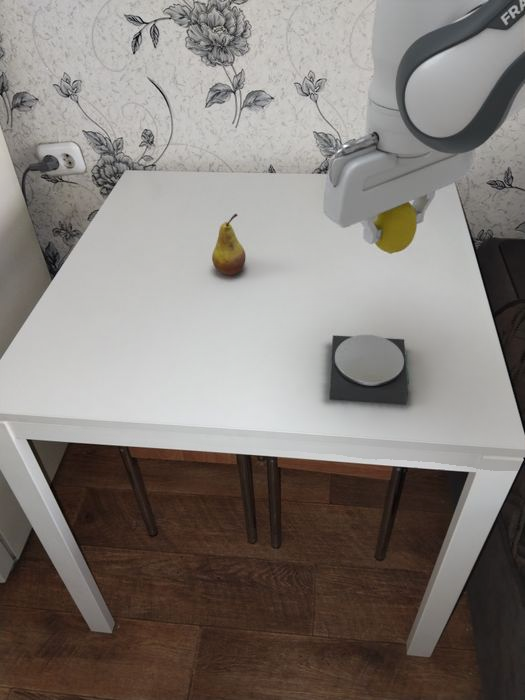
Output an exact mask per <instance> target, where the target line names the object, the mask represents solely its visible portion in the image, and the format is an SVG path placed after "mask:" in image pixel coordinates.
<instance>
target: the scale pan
mask: <svg viewBox="0 0 525 700" xmlns="http://www.w3.org/2000/svg"><path fill="white" fill-rule="evenodd" d="M385 338H386V337H382V336H379V335H374V334H360V335H355V336H353V337H351V338H349V339H347V340H345V341H343V342H342V343H341V344H340V345H339V346H338V348H337V350H336V352H335V365H336V367H337V369H338V371H339V372H340V373H341V374H342V375H343V376H344V377H345V378H347V379H348V380H350V381H352V382H354V383H357V384H360V385H366V386H379V385H384V384H387V383H389V382H391V381H393V380H395V379H396V378H397V377H398V376H399V375H400V373H401V372H402V370H403V365H404V358H403V355H402V352H401V351H400V349H399V348H398V347H397V346H396V345H395V344H394V343H392V342H391V341H389V340H387V339H385Z"/></svg>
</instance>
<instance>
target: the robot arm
mask: <svg viewBox="0 0 525 700" xmlns="http://www.w3.org/2000/svg"><path fill="white" fill-rule="evenodd" d="M371 38H372V39H371V50H370V51H371V52H370V53H371V58H372V62H373V63H372V64H373V74H372V78H371V81H370V84H369V87H368V91H367V92H368V93H367V103H366V104H367V105H366V116H365V117H366V120H365V130H364V131H365V132H364V135H363V136H360V137H359V138H357V139H354V140H351V141H347V142H344V143H342V144H341V145H340V146H339V149H337V151H335V152H334V154H333V155H332V156H331V157H330V158H329V162H328V171H327V175H326V180H325V186H324V194H323V202H322V211H323V214H324V216H326V217H327V218H328V219H329V220H330V221H332V222H333V223H334V224H336V225H337V226H339V227H341V228H345V229H346V228H349V227H351V226H354V225H356V224H361V227H362V228H363V235H362V237H363V240H364V241H365V242H366V243H368V244H369V245H373V244H375V242H378V241H380V240H381V239H382V237H381V235H382V230H383V229H382V228H380V227H377V225H375V224H374V222H373V221H377V218H378V214H380V213H383V212H385V211H388V210H390V209H392V208H395V207H397V206H400V205H402V204H405V203H407V202H409V203H410V202H412V203H411V205H412V206H413V208H414V210H415V213H416V220H417V225H420V224H421V223H423V222H424V219H425V213H426V211H427V209H428V208H429V206H430V204H431V203H432V201H433V200H434V198H435V196H436V191H438V190H441V189H444V188H445V187H448V186H450V185H453V184H455V183H458V182H461V181H463V180H464V179H465V177H466V176H467V175H468V174H469V172H470V170H471V169H472V166H473V162H474V157H475V153H476V149H478V148H479V147H481V146H482V145H484V144H486V142H487V141H488V140H489V139H490V138H491V137H492V136H493V135H494V134H495V133H496V132H497V131H498V130H499V129H500V128H501V127H502V126H503V125H504V123H506V122H507V121H509V119H511V118H512V117H513V116H514V115H515V114H517V113H518V112H519V111H520V110H522V109H523V108H524V107H525V0H376V4H375V10H374V17H373V25H372V36H371Z"/></svg>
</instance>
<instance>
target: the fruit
mask: <svg viewBox="0 0 525 700" xmlns="http://www.w3.org/2000/svg"><path fill="white" fill-rule="evenodd" d="M237 217H238V213H234V214H233V215H232V217H230V219H229V220H228V221H225V222H223V223H222V224H221V225H220V227H219V230H218V237H217V240H216V244H215V247H214V249H213V251H212V256H211V260H212V264H213V266H214V268H215V269H216V270H217V271H218V272H219V273H221V274H224V275H226V276H233V275H236V274H239V272H241V270H242V269H243V268H244V267H245V264H246V260H247V259H246V258H247V257H246V252H245V249H244V247H243V245H242V244H241V243H240V241H239V240H238V238H237V236H236V233H235V230H234V228H233V226H232V225H231V222H232V221H233V220H234V219H235V218H237Z"/></svg>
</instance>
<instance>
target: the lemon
mask: <svg viewBox="0 0 525 700" xmlns="http://www.w3.org/2000/svg"><path fill="white" fill-rule="evenodd" d="M373 222H374V224H375V225H377V227H380V228H382V229H383V230H382V235H381V237H382V239H381V240H380V241H378V242H375V243H374V245H376V247H377V248H378V249H380V250H381V251H382V252H385V253H388V254H391V255H392V254H394V253H400V252H402V251H404V250H405V249H407V248H408V247H409V246H410V245H411V243H412V242H413V240H414V238H415V235H416V232H417V227H418V224H417V220H416V213H415V210H414V208H413V206H412V203H411V202H410V201H409V202H407V203H405V204H402V205H400V206H397V207H395V208H392V209H390V210H388V211H385V212H383V213H380V214H378V218H377V221H373Z"/></svg>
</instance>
